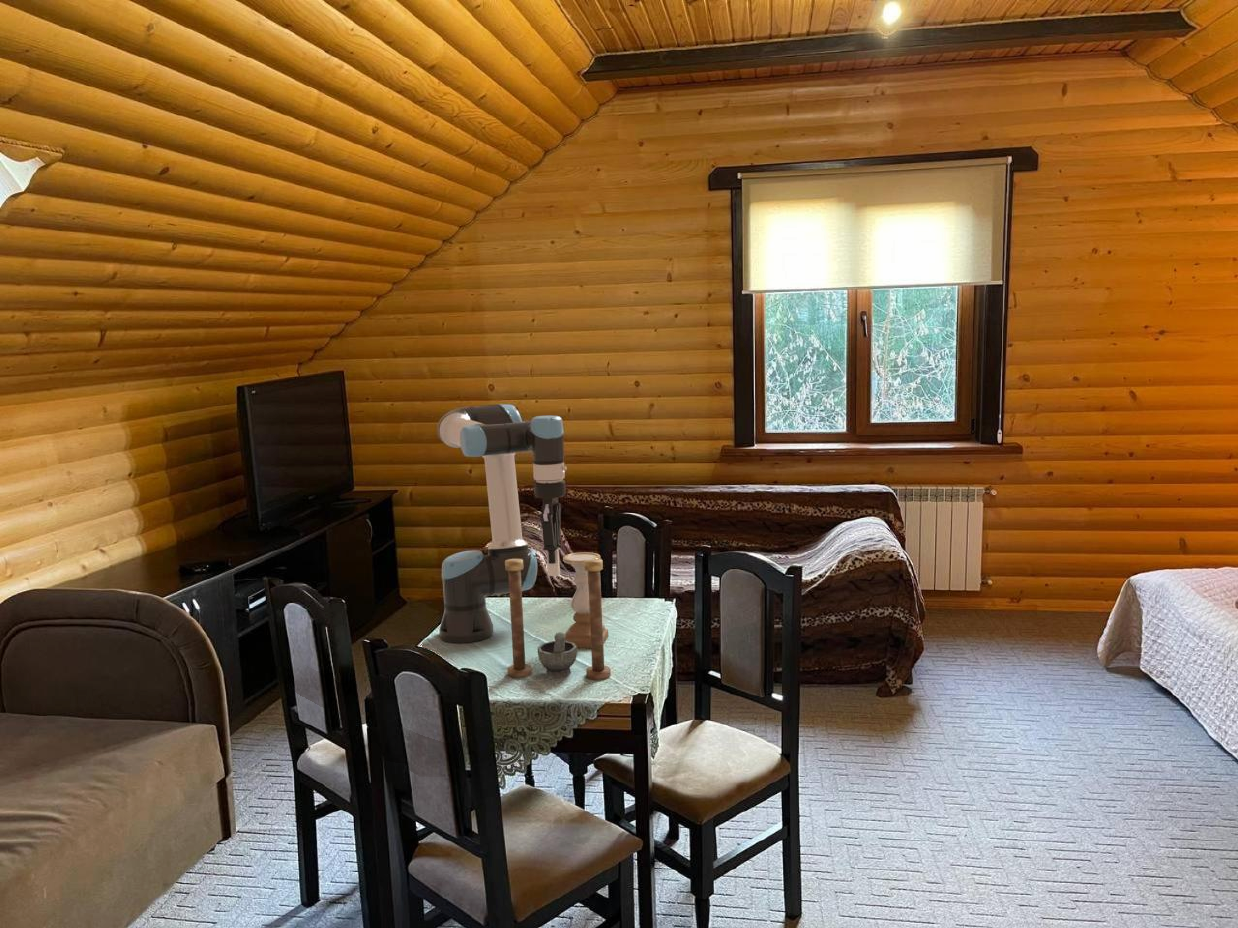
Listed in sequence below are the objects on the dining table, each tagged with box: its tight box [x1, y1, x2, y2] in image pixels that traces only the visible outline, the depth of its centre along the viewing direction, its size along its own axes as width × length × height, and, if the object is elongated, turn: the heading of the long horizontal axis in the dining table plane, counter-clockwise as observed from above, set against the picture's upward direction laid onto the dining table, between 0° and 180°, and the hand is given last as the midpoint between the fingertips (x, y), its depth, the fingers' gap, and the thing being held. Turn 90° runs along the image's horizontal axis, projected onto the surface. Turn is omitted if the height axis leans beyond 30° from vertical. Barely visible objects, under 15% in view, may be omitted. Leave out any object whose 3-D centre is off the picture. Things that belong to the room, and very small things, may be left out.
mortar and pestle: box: [537, 632, 578, 679], centre depth 231 cm, size 11×9×12 cm
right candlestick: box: [584, 558, 612, 681], centre depth 228 cm, size 6×6×29 cm
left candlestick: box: [505, 559, 533, 679], centre depth 231 cm, size 6×6×29 cm
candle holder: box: [562, 551, 609, 649], centre depth 254 cm, size 11×11×24 cm
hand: (553, 575), depth 228 cm, fingers closed
